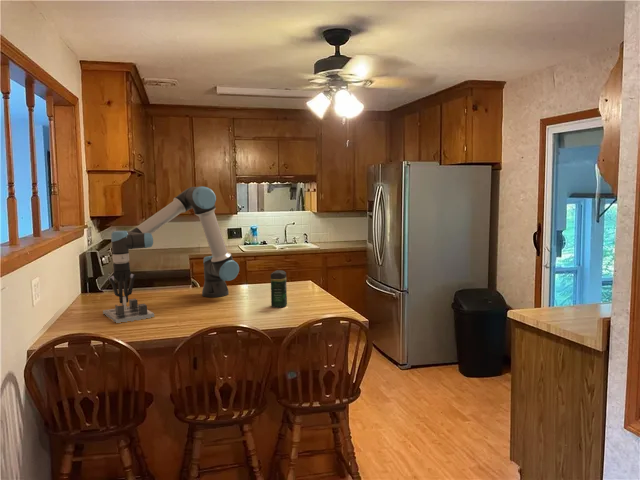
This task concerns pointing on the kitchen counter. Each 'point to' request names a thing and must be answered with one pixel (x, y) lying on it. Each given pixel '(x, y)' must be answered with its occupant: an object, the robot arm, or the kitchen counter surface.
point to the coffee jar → (278, 289)
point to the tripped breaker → (119, 308)
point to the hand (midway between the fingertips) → (124, 309)
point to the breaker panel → (130, 312)
